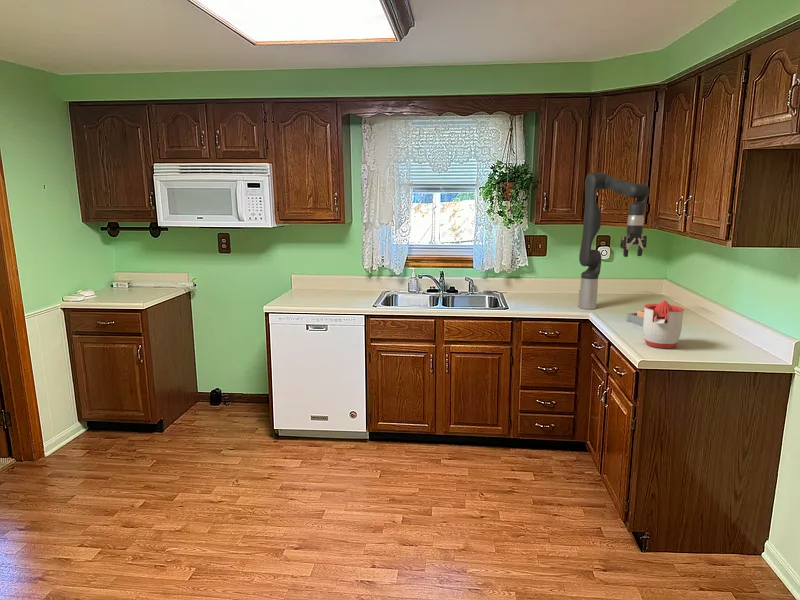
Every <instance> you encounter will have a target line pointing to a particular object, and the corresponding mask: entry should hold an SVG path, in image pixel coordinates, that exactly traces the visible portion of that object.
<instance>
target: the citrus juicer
mask: <svg viewBox="0 0 800 600" xmlns="http://www.w3.org/2000/svg"><path fill="white" fill-rule="evenodd" d="M643 306H644V322H643V326H642V332H643V337H644V338H643V339H644V342H645V344H646V345H647V346H649V347H651V348H653V347H654V348H658V349H665V348H666V349H667V350H668V349H669V350H670V349H671V348H675V347H676V346H677V344H678V342H679V340H680V337H681V335H682V334H681V332H682V329H683V328H682V326H683V317H684V311H685V308H684V307H682V306H679V305H675V304H669V302H668V301H667V300H664V299H663V300H662V301H661V302H660V303H647V304H645V305H643Z"/></svg>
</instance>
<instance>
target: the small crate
mask: <svg viewBox="0 0 800 600" xmlns="http://www.w3.org/2000/svg"><path fill="white" fill-rule="evenodd" d="M644 310H645V309H644ZM644 310H642V309H641V310H637V311H636V313H637V316H639V317H642V318H644Z"/></svg>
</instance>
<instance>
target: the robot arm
mask: <svg viewBox="0 0 800 600" xmlns="http://www.w3.org/2000/svg"><path fill="white" fill-rule="evenodd" d="M601 190H611V191H612V192H614V193H615V194H619V195H621V196H622V195H624V196H625V197H627V198H631V199H636V200H635V201H634V202H632V203H630V204H629V206H628V216H627V221H626V234H627V235H625V236H624V235H622V236H621V238H620V249H623V252H622V253H623V257H624V258H628V257H629V249H630V247H632V245H633V246H634V245H635V246H636V247H637V257H642V255H643V249H645V248H647V244H648V243H647V241H648V240H647V238H648V237H647V235H642V234H643V232H644V231H643V230H644V219H645V217H644V215H645V214H644V213H645V206H646V203H647V201H648V198H649V195H650V187H649V185H648V184H646V183H634V182H632V181H629V180H625V179H624V180H623V179H619V178H615V177H612V176H610V175H608V174H606V173H604V172H589V173H587V175H586V177H585V181H584V195H585V196H584V198H585V199H584V214H583V224H582V225H583V227H582V237H581V239H582V240H581V243H580V249H579V255H578V260H579V263H580V265H581V266H582V267H588V268H587V269H586V270H584V271H582V273H581V274H580V289H579V290H578V303H577V304H578V307H579V308H580V309H583V310H596V309H597V301H598V299H597V298H598V289H599V276H600V273H601V266H602V257H603V256H602V254H601V251H600V250H598V249H592V246H593V244H592V243H593V240H594V239H595V237H596V236H597V235H598V233H599V231H600V229H601V225H602V211H601V208H600V207H599V205H598V202H597V200H596V191H601Z"/></svg>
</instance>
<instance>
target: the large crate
mask: <svg viewBox="0 0 800 600" xmlns="http://www.w3.org/2000/svg"><path fill="white" fill-rule="evenodd" d="M626 315H627V316H626V317H627V318H626V322H628V321H629V322H628V323H631V322H633V323H632V324H634V323H636V324H635V325H637V324H639V325H638V326H641V325H642V326H641V327H643V322H644V318H642V317H639V316H637V312H632V313H631V312H629V313H627V314H626Z"/></svg>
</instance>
